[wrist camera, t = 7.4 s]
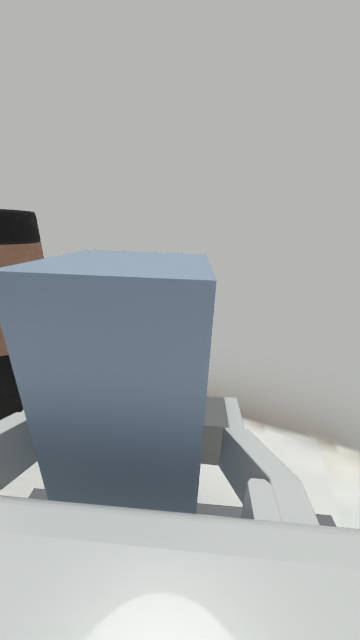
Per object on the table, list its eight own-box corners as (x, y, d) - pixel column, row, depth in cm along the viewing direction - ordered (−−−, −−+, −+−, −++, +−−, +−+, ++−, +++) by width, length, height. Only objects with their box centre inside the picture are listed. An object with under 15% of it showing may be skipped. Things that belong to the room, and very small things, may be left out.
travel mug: (36, 380, 31) (-2, 212, 24) (83, 395, 28) (56, 213, 21) (-30, 421, 24) (-112, 205, 17) (24, 446, 22) (-46, 205, 14)
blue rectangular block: (77, 606, 10) (-15, 270, 5) (113, 490, 14) (87, 249, 9) (186, 619, 10) (216, 280, 5) (189, 497, 14) (206, 254, 9)
